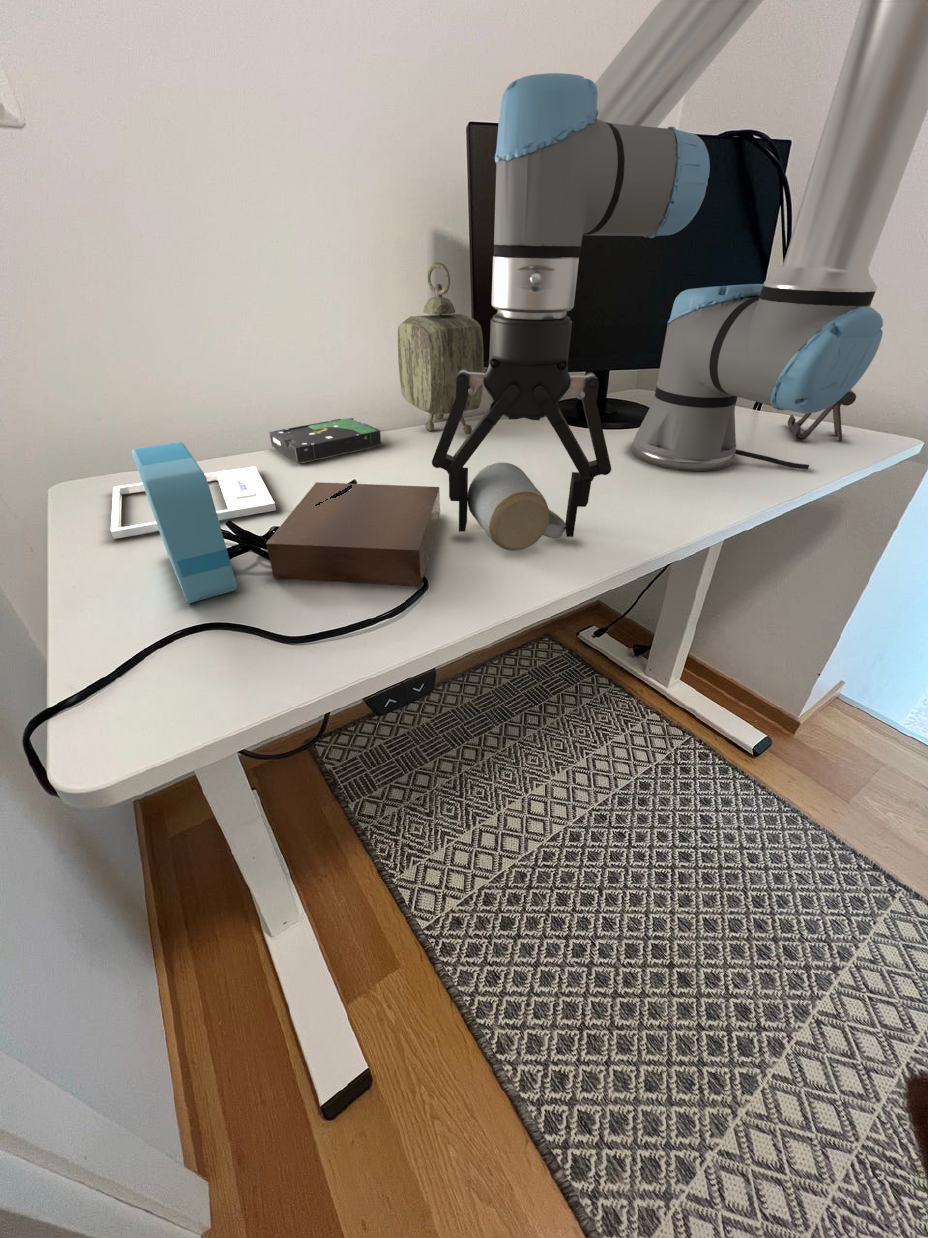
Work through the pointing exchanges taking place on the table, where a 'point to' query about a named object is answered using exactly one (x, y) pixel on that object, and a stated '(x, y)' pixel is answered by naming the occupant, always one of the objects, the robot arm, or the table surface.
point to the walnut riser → (358, 535)
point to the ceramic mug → (511, 507)
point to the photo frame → (241, 498)
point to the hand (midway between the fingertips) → (515, 529)
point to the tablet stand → (801, 435)
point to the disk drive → (325, 439)
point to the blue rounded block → (186, 520)
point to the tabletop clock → (438, 355)
